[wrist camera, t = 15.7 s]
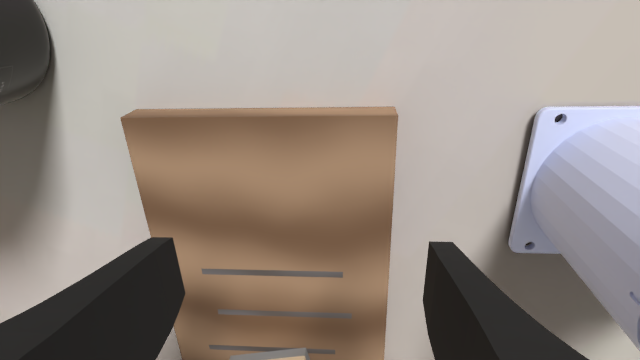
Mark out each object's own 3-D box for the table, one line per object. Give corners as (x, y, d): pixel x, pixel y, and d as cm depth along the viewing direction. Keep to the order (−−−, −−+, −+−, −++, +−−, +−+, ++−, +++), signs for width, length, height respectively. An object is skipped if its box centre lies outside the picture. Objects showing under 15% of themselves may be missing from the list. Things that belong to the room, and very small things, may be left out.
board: (136, 109, 20) (120, 117, 18) (394, 107, 19) (397, 115, 17) (208, 413, 30) (201, 433, 29) (377, 423, 29) (378, 443, 28)
